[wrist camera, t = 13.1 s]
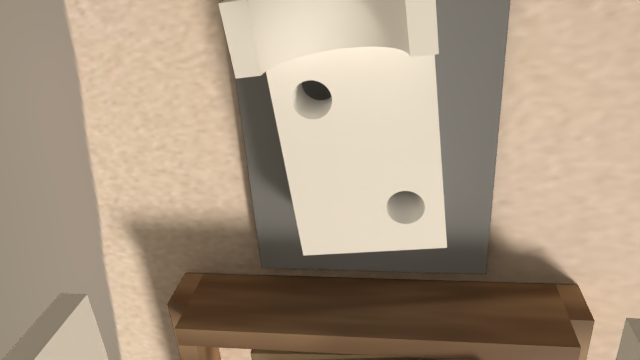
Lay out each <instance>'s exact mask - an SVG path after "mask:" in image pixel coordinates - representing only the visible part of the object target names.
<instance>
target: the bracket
mask: <svg viewBox="0 0 640 360" xmlns="http://www.w3.org/2000/svg"><path fill="white" fill-rule="evenodd" d="M218 4H219V8H220V13H221V17H222V21H223V26H224V30H225V34H226V39H227V43H228V48H229V52H230V56H231V61H232V65H233V69H234V74H235V78H236V79H237V78H245V77H254V76H261V75H262V74H263V73H264V72H266V75H267V80H268V85H269V90H270V95H271V99H272V104H273V109H274V114H275V119H276V124H277V129H278V134H279V139H280V144H281V148H282V153H283V158H284V163H285V168H286V173H287V178H288V183H289V188H290V193H291V197H292V202H293V207H294V212H295V217H296V222H297V227H298V232H299V237H300V241H301V246H302V251H303V256H304V255H322V254H341V253H360V252H378V251H397V250H415V249H434V248H447V238H446V222H445V207H444V192H443V176H442V161H441V145H440V130H439V114H438V99H437V83H436V68H435V55H436V54H439V46H438V30H437V14H436V0H224V1H222V2H220V3H218ZM308 80H314V81H318V82H320V83H322V84H324V85H325V86H326V87H327V88H328V90H329V91H330V93H331V96H332V97H331V98H329V99H326V100H315V99H313V98H311V97H309V96H308V95H307V94H306V93H305V91H304V90H303V87H302V82H304V81H308Z"/></svg>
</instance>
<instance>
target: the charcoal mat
mask: <svg viewBox="0 0 640 360" xmlns="http://www.w3.org/2000/svg"><path fill="white" fill-rule="evenodd" d="M509 9H510V0H436V14H437V30H438V46H439V54H436V55H435V68H436V83H437V99H438V114H439V130H440V145H441V161H442V176H443V192H444V207H445V222H446V238H447V248H434V249H415V250H397V251H378V252H360V253H341V254H322V255H304V256H303V251H302V246H301V241H300V237H299V232H298V227H297V222H296V217H295V212H294V207H293V202H292V197H291V193H290V188H289V183H288V178H287V173H286V168H285V163H284V158H283V153H282V148H281V144H280V139H279V134H278V129H277V124H276V119H275V114H274V109H273V104H272V99H271V95H270V90H269V85H268V80H267V75H266V72H264V73H263V74H262V75H261V76H254V77H245V78H237V79H236V85H237V92H238V100H239V107H240V114H241V121H242V129H243V136H244V143H245V150H246V158H247V165H248V172H249V179H250V187H251V194H252V201H253V208H254V216H255V223H256V230H257V237H258V245H259V252H260V259H261V266H262V268H283V269H318V270H354V271H390V272H425V273H461V274H486V267H487V256H488V245H489V233H490V222H491V211H492V200H493V188H494V177H495V166H496V155H497V144H498V132H499V121H500V110H501V99H502V87H503V76H504V65H505V54H506V43H507V31H508V20H509ZM302 87H303V90H304V91H305V93H306V94H307V95H308V96H309V97H311V98H313V99H315V100H326V99H329V98H331V97H332V96H331V93H330V91H329V90H328V88H327V87H326V86H325V85H324V84H322V83H320V82H318V81H314V80H308V81H304V82H302Z"/></svg>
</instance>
